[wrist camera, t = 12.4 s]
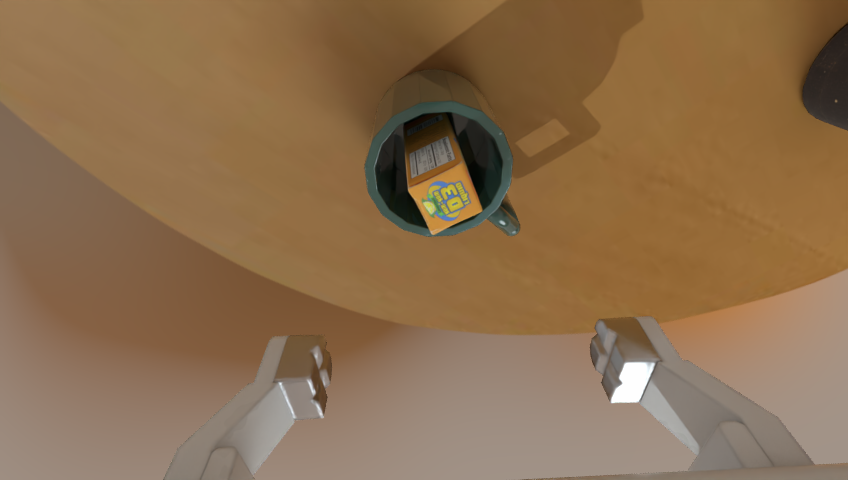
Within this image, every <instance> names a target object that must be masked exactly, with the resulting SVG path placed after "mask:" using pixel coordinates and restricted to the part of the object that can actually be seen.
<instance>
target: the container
mask: <svg viewBox="0 0 848 480" xmlns="http://www.w3.org/2000/svg"><path fill="white" fill-rule="evenodd" d="M803 102H804V105H805V107H806V109H807V111H808V113H810V114H811V115H813V116H814V117H815V118H817V119H819V120H821V121H824V122H826V123H829V124H831V125H834V126H837V127H840V128H842V129H845V130H848V24H847V25H846V26H845V27H844V28H843V29H842V30H841V31H840V32H838V33H837V34H836V35H835V36H834V37H833V38H832V39H831V40H830V41H829V42H828V44H827V45H826V46H825V47H824V48H823V50H822V51H821V52H820V54H819V55H818V56H817V58H816V60H815V61H814V63H813V65H812V66H811V68H810V70H809V73H808V75H807V78H806V81H805V84H804V87H803Z"/></svg>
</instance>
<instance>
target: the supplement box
mask: <svg viewBox="0 0 848 480" xmlns="http://www.w3.org/2000/svg"><path fill="white" fill-rule="evenodd" d="M403 133H404V149H405V162H406V173H407V185H408V191H409V193H410V195H411V196H412V197H413V198H414V200H415V202H416V204H417V206H418V208H419V209H420V211H421V213H422V215H423V217H424V219H425V221H426V224H427V226H428V228H429V230H430V233H431V234H432V235H435V234H437V233H439V232H441V231H442V230H444V229H446V228H448V227H450V226H452V225H454V224H456V223H458V222H460V221H463V220H465V219H467V218H469V217H472V216H474V215H476V214H478V213H480V212H482V207H481V204H480V201H479V198H478V196H477V193H476V191H475V188H474V186H473V183H472V180H471V177H470V174H469V171H468V169H467V166H466V163H465V160H464V157H463V155H462V152H461V149H460V146H459V142H458V139H457V137H456V134H455V132H454V129H453V127H452V125H451V123H450V120H449V118H448V116H447V114H446V112H442V113H430V114H428V115H425V116H423V117H421V118H419V119H417V120H415V121H412V122H410V123H408V124H406V125H404V126H403Z"/></svg>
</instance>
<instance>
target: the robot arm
mask: <svg viewBox="0 0 848 480" xmlns="http://www.w3.org/2000/svg"><path fill="white" fill-rule="evenodd" d="M595 330H596V332H597V335H595V336H594V337H593V338H592V340H591V344H590V354H591V359H592V362H593V365H594V367H595V369H596V370H597V371H598V372H599V373H601V374H602V375H603V379H602V382H601V383H602V386H603V388H604V390H605V392H606V394H607V396H608V399H609V401H610V403H627V402H640V404H641V405H642V406H643V407H644V408H645V409H646V410H647V411H648V412H650V413H651V414H652V415H653V416H654V417H655V418H656V419H657V420H658V421H659V422H661V423H662V424H663V425H664V426H665V427H666V428H667V429H668V430H669V431H670V432H672V433H673V434H674V435H675V436H676V437H677V438H678V439H679V440H680V441H681V442H682V443H684V444H685V445H686V446H687V447H688V448H689V449H690V450H691V451H692V452H693V453H695V454H696V455H697V457H696V459H695V460H694V462H693V463H692V465H691V466H690V468H689V470H688V471H682V472H663V473H643V474H626V475H604V476H585V477H565V478H544V479H524V480H848V463H840V464H839V463H838V464H819V465H815V464H814V463H813V461H812V460H811V459H810V458H809V456H808V455H807V454H806V452H805V451H804V450H803V449H802V447H801V446H800V445H799V444H798V442H797V441H796V440H795V438H794V437H793V436H792V435H791V433H790V432H789V431H788V430H787V428H786V427H785V426H784V424H783V423H782V422H781V420H780V419H779V418H778V417H777V416H775V415H774V414H772V413H770V412H769V411H767V410H765V409H764V408H763V407H761V406H759V405H758V404H756V403H754V402H753V401H751V400H750V399H748V398H747V397H745V396H743V395H742V394H740V393H739V392H737V391H736V390H734V389H732V388H731V387H729V386H728V385H726V384H725V383H723V382H721V381H720V380H718V379H717V378H715V377H713V376H712V375H710V374H709V373H707V372H705V371H704V370H702V369H701V368H699V367H698V366H696V365H694V364H693V363H691V362H690V361H688V360H684V361H683V360H682V359H681V358H680V356H679V354H678V353H677V351H676V350H675V348H674V347H673V346H672V344H671V342H670V341H669V339H668V338H667V337H666V335H665V334H664V332H663V330H662V329H661V328H660V326H659V324H658V323H657V322H656V320H655V319H654V318H653V317H651V316H645V317H633V318H632V317H625V318H610V319H599V320H598V321H597V322H596V325H595ZM326 343H327V342H326V339H325V336H324V335H296V336H273V337H272V338H271V339H270V341H269V343H268V346H267V348H266V351H265V354H264V356H263V359H262V362H261V365H260V367H259V370H258V373H257V376H256V378H255V381H254V383H253V384H248V385H247V386H246V387H245V388H243V389H242V390H241V391H240V392H239V393H238V394H237V395H236V396H235V397H234V398H232V399H231V401H229V402H228V403H227V404H226V405H225V406H224V407H223V408H221V409H220V410H219V411H218V412H217V413H216V414H215V415H214V416H213V417H212V418H210V420H208V421H207V422H206V423H205V424H204V425H203V426H202V427H201V428H199V430H197V431H196V432H195V433H194V434H193V435H192V436H191V437H190V438H188V439H187V440H186V441H185V442H184V443H183V444H182V445H181V446H180V447H179V448H178V449H177V452H176V454H175V456H174V458H173V460H172V462H171V464H170V466H169V468H168V471H167V473H166V475H165V477H164V479H163V480H255V478H254V477H253V475H254V474H255V472H256V471H257V470H258V469H259V467H260V466H261V465H262V463H263V462H264V461H265V460H266V458H267V457H268V456H269V454H270V453H271V452H272V450H273V449H274V448H275V446H276V445H277V444H278V443H279V442H280V440H281V439H282V438H283V436H284V435H285V434H286V433H287V431H288V430H289V428H290V427H291V426H292V425H293V423H294V420H304V419H316V418H323V417H324V412H325V407H326V402H327V394H326V391H325V388H327V386H328V385H329V384H330V381H331V372H332V363H331V357H330V353H329V352H328V351H327V350H325V348H326Z"/></svg>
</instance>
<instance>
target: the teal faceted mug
mask: <svg viewBox="0 0 848 480" xmlns="http://www.w3.org/2000/svg"><path fill="white" fill-rule="evenodd" d="M442 112H446V114H447V116H448V118H449V120H450V123H451V125H452V127H453V129H454V132H455V134H456V137H457V139H458V142H459V146H460V149H461V152H462V155H463V157H464V160H465V163H466V166H467V169H468V171H469V174H470V177H471V180H472V183H473V186H474V188H475V191H476V193H477V196H478V198H479V201H480V204H481V207H482V212H480V213H478V214H476V215H474V216H472V217H469V218H467V219H465V220H463V221H460V222H458V223H456V224H454V225H452V226H450V227H448V228H446V229H444V230H442V231H441V232H439V233H437V234H435V235H432V234H431V233H430V230H429V228H428V226H427V224H426V221H425V219H424V217H423V215H422V213H421V211H420V209H419V208H418V206H417V204H416V202H415V200H414V198H413V197H412V196H411V195H410V193H409V191H408V185H407V173H406V162H405V149H404V133H403V126H404V125H406V124H408V123H410V122H412V121H415V120H417V119H419V118H421V117H423V116H425V115H428V114H430V113H442ZM512 166H513V156H512V153H511V150H510V148H509V145H508V142H507V139H506V137H505V134H504V132H503V130H502V128H501V126H500V125H499V123H498V121H497V119H496V117H495V116H494V114H493V112H492V110H491V108H490V106H489V105H488V103H487V101H486V99H485V98H484V96H483V95H482V94H481V93H480V92H479V90H478V89H477V88H476V87H475V86H474V85H473V84H472V83H471V82H470V81H468V80H467V79H465V78H464V77H462V76H460V75H458V74H456V73H453V72H450V71H446V70H439V69H429V70H422V71H418V72H414V73H412V74H410V75H407V76H405V77H404V78H402V79H400V80H399V81H398V82H396V83H395V84H394V85H393V86H392V87H391V88H390V89H389V90H388V91H387V92H386V94H385V95H384V97H383V98H382V100H381V102H380V104H379V106H378V109H377V112H376V116H375V120H374V123H373V127H372V132H371V136H370V141H369V146H368V151H367V156H366V160H365V167H364V168H365V175H366V182H367V189H368V193H369V195H370V197H371V198H372V200H373V201H374V203H375V205H376V206H377V208H378V209H379V211H380V213H381V214H382V215H383V216H384V217H386V218H387V219H389V220H390V221H391V222H393V223H394V224H396V225H397V226H398V227H400V228H401V229H403V230H405V231H409V232H412V233H416V234H420V235H423V236H428V237H432V236H449V235H456V234H458V233H461V232H463V231H466V230H468V229H471V228H473V227H476V226H478V225H480V224H481V223H482V222H483V221H484V220H485V219H488V220H489V221H490V222H491V223H493V224H494V225H495V226H496V227H497V228H499V229H500V230H501V231H502V232H503V233H505V234H506V235H508V236H515V235H517V234H518V233H519V231H520V223H519V221H518V219H517V216H516V214H515V211H514V209H513V207H512V204H511V202H510V200H509V197H508V195H507V191H508V189H509V187H510V184H511V178H512Z"/></svg>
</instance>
